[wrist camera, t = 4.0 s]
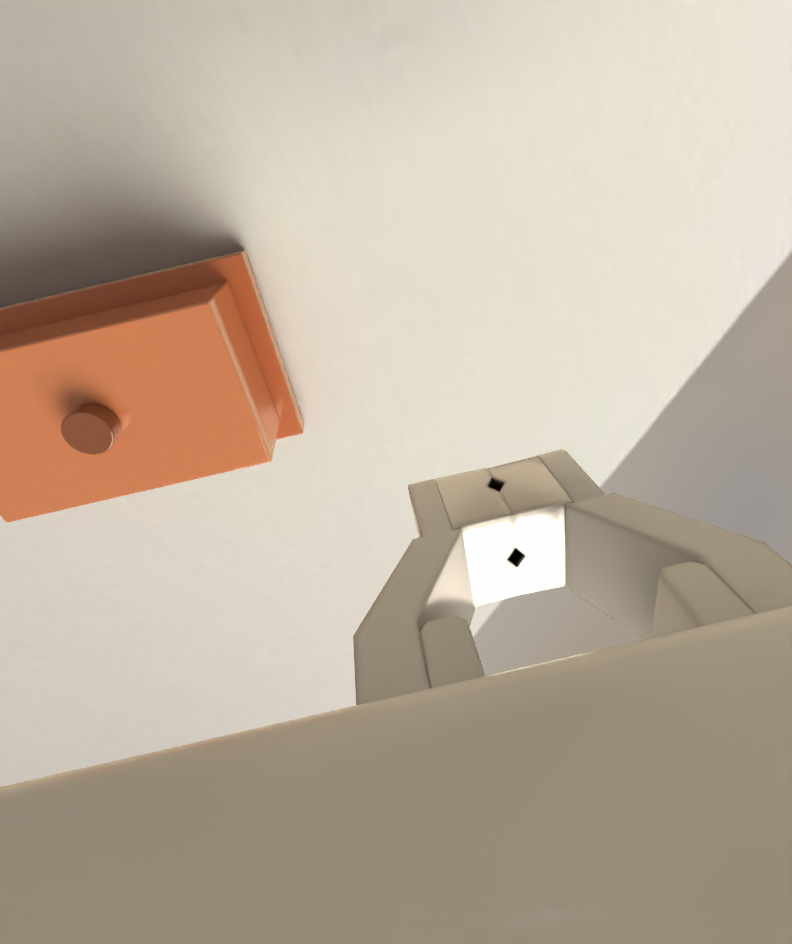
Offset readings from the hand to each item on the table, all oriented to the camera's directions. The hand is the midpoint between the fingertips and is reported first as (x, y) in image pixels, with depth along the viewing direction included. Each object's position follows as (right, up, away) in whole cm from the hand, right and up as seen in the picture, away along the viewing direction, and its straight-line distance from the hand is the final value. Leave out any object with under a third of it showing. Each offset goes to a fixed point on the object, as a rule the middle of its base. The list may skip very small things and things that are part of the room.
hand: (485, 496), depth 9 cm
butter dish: (-13, +5, +11) cm, 17 cm away
